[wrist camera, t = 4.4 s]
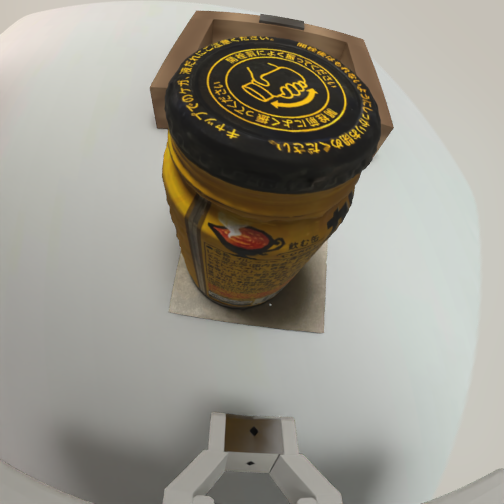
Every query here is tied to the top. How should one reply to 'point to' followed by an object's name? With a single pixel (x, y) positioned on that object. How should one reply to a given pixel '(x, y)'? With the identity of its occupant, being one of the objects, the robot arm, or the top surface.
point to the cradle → (238, 25)
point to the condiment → (262, 177)
